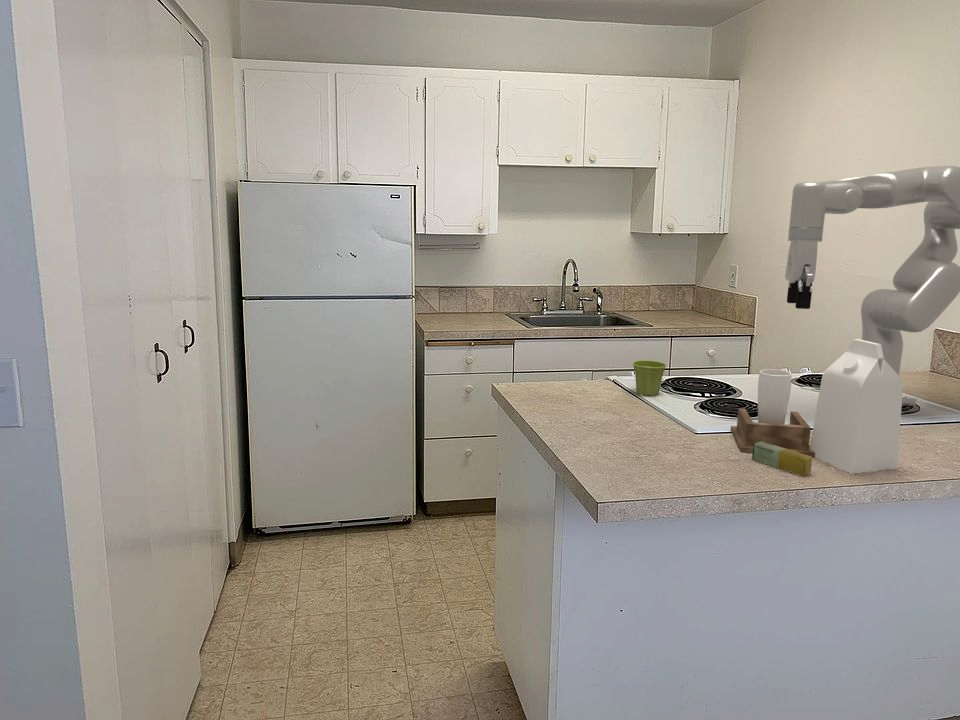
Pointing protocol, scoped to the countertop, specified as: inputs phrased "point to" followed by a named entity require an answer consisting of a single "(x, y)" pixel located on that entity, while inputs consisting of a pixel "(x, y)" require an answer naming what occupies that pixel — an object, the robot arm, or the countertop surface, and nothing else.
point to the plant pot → (648, 376)
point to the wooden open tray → (772, 433)
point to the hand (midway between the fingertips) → (797, 305)
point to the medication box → (782, 458)
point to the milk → (859, 411)
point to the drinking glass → (773, 395)
